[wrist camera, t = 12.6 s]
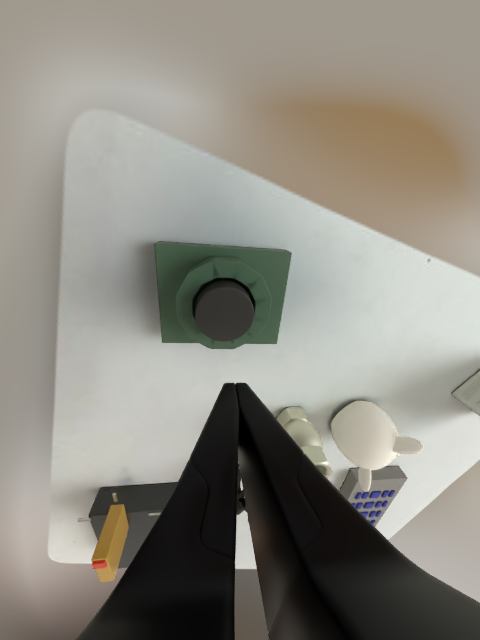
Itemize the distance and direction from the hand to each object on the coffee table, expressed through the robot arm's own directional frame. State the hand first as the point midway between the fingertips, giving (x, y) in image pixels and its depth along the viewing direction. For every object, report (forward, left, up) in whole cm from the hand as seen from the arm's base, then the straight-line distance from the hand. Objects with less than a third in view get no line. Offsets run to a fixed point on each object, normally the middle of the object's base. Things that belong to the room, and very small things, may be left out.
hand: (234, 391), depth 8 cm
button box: (0, 0, -12) cm, 12 cm away
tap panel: (-8, -31, -12) cm, 35 cm away
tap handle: (-11, -27, -9) cm, 30 cm away
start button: (0, 0, -9) cm, 9 cm away
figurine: (+17, -15, -12) cm, 26 cm away
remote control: (+23, -37, -12) cm, 45 cm away
